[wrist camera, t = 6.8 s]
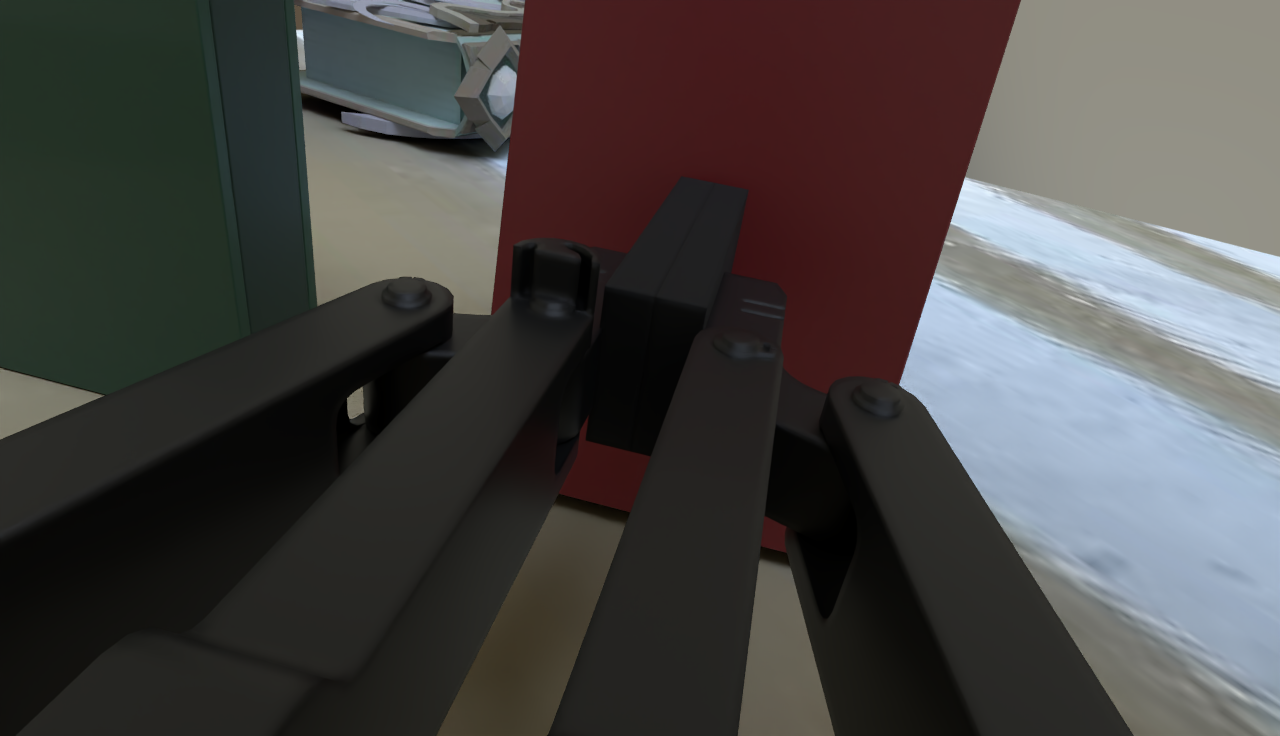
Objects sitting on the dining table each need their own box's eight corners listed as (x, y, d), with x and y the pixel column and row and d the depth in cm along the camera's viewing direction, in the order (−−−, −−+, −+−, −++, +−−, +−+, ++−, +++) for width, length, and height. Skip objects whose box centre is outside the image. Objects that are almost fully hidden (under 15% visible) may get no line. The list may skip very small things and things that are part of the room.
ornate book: (460, 189, 45) (696, 117, 68) (459, 13, 40) (714, -1, 63) (222, 104, 54) (501, 66, 77) (197, -48, 49) (503, -41, 72)
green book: (254, 434, 22) (146, -369, 13) (-77, 347, 23) (-362, -429, 15) (323, 377, 25) (270, -309, 16) (26, 303, 26) (-162, -363, 18)
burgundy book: (841, 567, 20) (1073, -163, 14) (473, 472, 21) (549, -233, 15) (836, 510, 22) (1027, -118, 17) (512, 429, 24) (588, -181, 18)
